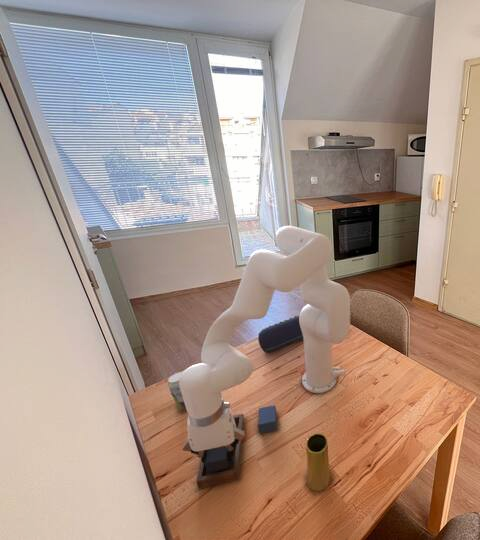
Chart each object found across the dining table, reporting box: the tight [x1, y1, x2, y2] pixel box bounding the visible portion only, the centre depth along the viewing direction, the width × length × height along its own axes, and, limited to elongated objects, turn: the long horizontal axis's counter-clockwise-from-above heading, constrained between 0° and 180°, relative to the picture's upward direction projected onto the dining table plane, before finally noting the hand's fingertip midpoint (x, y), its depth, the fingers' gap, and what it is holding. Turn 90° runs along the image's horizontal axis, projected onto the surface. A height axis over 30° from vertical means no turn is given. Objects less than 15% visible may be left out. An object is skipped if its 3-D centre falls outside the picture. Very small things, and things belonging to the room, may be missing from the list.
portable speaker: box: [257, 314, 303, 353], centre depth 126 cm, size 25×10×10 cm, turn 130°
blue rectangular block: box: [257, 404, 278, 435], centre depth 90 cm, size 5×6×4 cm
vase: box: [305, 432, 331, 492], centre depth 74 cm, size 6×6×14 cm
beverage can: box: [167, 370, 186, 411], centre depth 95 cm, size 6×7×12 cm
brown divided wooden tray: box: [195, 413, 245, 490], centre depth 82 cm, size 10×18×3 cm, turn 15°
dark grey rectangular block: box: [205, 446, 229, 473], centre depth 77 cm, size 5×6×4 cm
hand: (219, 458), depth 78 cm, fingers closed on dark grey rectangular block, 4 cm apart
